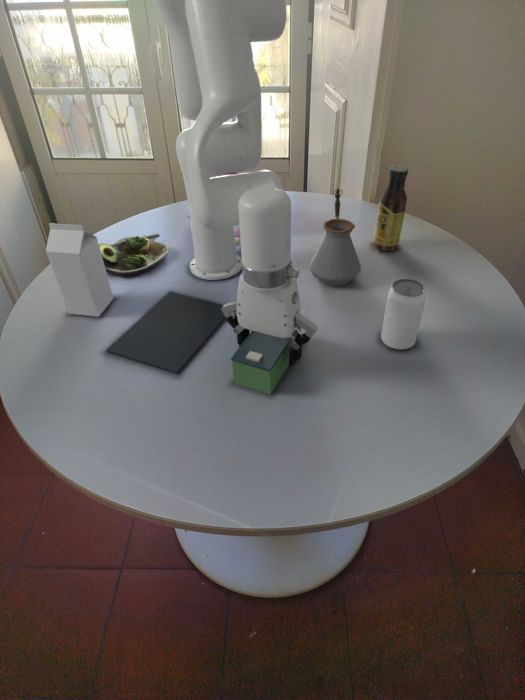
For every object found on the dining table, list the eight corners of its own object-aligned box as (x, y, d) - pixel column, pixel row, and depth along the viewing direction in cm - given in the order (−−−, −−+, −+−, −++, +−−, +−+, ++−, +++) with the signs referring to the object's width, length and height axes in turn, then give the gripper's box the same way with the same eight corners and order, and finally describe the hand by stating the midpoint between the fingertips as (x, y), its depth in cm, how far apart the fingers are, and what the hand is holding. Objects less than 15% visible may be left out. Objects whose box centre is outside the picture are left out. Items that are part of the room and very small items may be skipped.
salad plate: (138, 232, 128) (135, 216, 125) (186, 249, 120) (184, 233, 117) (81, 262, 116) (75, 245, 113) (130, 283, 108) (125, 266, 105)
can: (416, 333, 91) (429, 280, 84) (413, 353, 87) (426, 300, 79) (383, 327, 93) (392, 275, 85) (378, 347, 88) (387, 293, 81)
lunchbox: (233, 383, 82) (266, 336, 92) (270, 395, 80) (301, 346, 89) (230, 355, 78) (266, 309, 88) (270, 367, 75) (302, 318, 85)
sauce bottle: (370, 241, 121) (380, 162, 108) (393, 240, 121) (407, 161, 108) (376, 254, 116) (388, 173, 103) (401, 252, 116) (416, 171, 103)
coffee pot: (360, 291, 103) (368, 228, 93) (308, 289, 104) (311, 226, 95) (356, 245, 119) (362, 187, 110) (311, 244, 120) (313, 186, 111)
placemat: (170, 293, 105) (170, 291, 104) (233, 309, 99) (233, 307, 99) (106, 352, 90) (106, 350, 89) (177, 374, 84) (176, 372, 84)
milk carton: (99, 317, 98) (73, 234, 86) (68, 314, 99) (38, 231, 87) (114, 298, 104) (91, 217, 91) (84, 296, 105) (58, 215, 93)
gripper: (327, 269, 73) (321, 354, 83) (228, 250, 78) (235, 331, 89) (310, 294, 67) (307, 380, 78) (206, 271, 73) (216, 355, 84)
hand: (269, 354), depth 84 cm, fingers open, 9 cm apart
